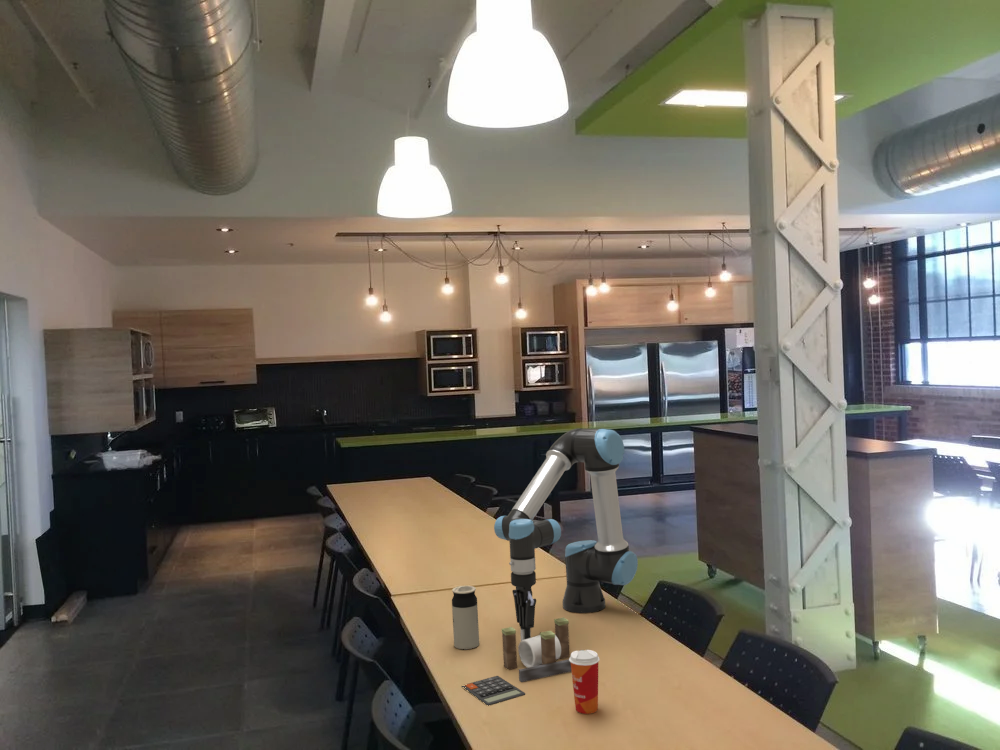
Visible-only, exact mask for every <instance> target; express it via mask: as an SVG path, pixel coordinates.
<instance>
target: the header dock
mask: <svg viewBox="0 0 1000 750" xmlns="http://www.w3.org/2000/svg"><path fill="white" fill-rule="evenodd" d="M553 620H554V632H553V631H552V630H547V631H546V630H545V631H541V632H540V633H539V635H540V636H541V652H542V665H538V666H534V667H529V668H527V667H525V668H524V667H523V668H520V669H518V681H519V682H521V683H524V682H529V681H533V680H537V679H542V678H547V677H553V676H556V675H562V674H565V673H570V672H571V673H572V671H571V662H570V661H569V658H570V656H571V653H570V651H571V650H570V634H569V633H570V632H569V621H570V620H568V619H567V618H565V617H559V618H554V619H553ZM501 633H502V634H501V637H502V655H503V656H502V657H503V659H502V660H503V667H504V668H505V669H506V668H507V669H509V670H513V669H517V668H518V658H517V657H518V656H517V636H516V635H517V629H515V628H514V627H512V626H509V627H503V628H501ZM555 635H556V636H557V638H558V639H559V642H560V645H561V655H560V657H559V659H561V660H558V661H557V660H556V653H555ZM566 658H567V659H566ZM563 659H564V660H563ZM507 669H506V670H507Z"/></svg>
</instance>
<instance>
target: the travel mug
mask: <svg viewBox="0 0 1000 750" xmlns="http://www.w3.org/2000/svg"><path fill="white" fill-rule="evenodd" d="M476 589H477V588H476V587H475V586H473V585H459V586H456V587H453V588H452V589H451V591H452V593H453V596H452V599H451V608H452V609H451V610H452V629H453V633H452V634H453V646H454V648H455V649H458V650H463V649H464V650H471V649H472V648H473V649H475V648H477V647H478V646H479V645H480V633H479V632H480V629H479V613H478V612H479V611H478V609H479V608H478V607H479V606H478V597H477V596H476Z"/></svg>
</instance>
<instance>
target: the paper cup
mask: <svg viewBox="0 0 1000 750" xmlns="http://www.w3.org/2000/svg"><path fill="white" fill-rule="evenodd" d="M568 659H569V661H570V662H571V671H572V672H571V679H572V680H571V681H572V688H573V700H574V706H575V710H576V712H577V713H579V714H582V715H589V714H591V715H592V714H594V713H597V711H598V709H599V708H598V707H599V662H600V657H599V654H598V653H597V652H596V651H595V650H591V649H585V650H584V649H580V650H573V651H572V652H571V653H570V657H568Z"/></svg>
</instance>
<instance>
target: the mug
mask: <svg viewBox="0 0 1000 750" xmlns="http://www.w3.org/2000/svg"><path fill="white" fill-rule="evenodd" d="M517 647H518V657H519V659H520V661H521V663H522V664H523V666H524V667H525V668H529V667H534V666H538V665H542V652H541V636H540V634H538V635H536V636H532V637H531V638H528V639H525V640H522V641H521V640H520V641H519V644H518V646H517ZM555 653H556V661H557V660H558V659H560V658H559V657H560V655H561V645H560V642H559V639H558V638H557V636H556V635H555Z"/></svg>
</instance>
